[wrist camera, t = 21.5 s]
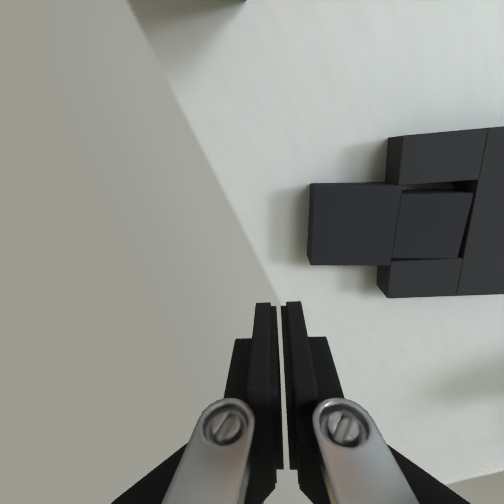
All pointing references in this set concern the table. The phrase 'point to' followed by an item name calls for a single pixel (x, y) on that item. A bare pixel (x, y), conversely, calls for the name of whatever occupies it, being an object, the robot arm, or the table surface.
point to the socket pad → (478, 221)
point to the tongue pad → (383, 223)
